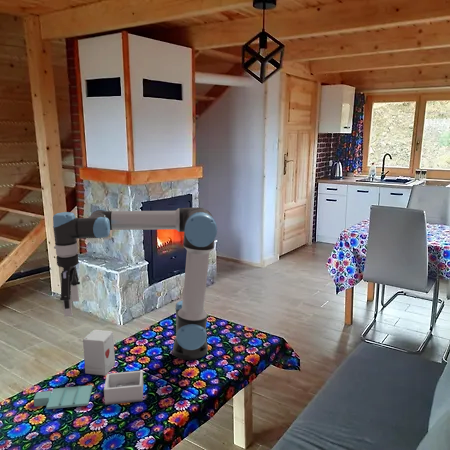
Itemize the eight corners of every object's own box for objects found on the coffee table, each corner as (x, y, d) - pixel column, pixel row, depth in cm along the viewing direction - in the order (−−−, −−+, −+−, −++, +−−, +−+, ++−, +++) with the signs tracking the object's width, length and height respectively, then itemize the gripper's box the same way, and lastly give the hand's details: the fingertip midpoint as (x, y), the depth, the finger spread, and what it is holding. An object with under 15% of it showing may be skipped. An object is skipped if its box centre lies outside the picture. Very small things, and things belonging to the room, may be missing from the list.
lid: (92, 389, 158) (92, 381, 157) (88, 407, 148) (87, 399, 147) (40, 394, 155) (39, 386, 155) (31, 413, 145) (30, 405, 144)
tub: (143, 384, 160) (142, 370, 159) (142, 401, 151) (141, 386, 150) (108, 388, 159) (107, 373, 157) (105, 404, 149) (103, 389, 148)
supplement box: (105, 376, 166) (103, 341, 163) (84, 373, 168) (81, 339, 165) (116, 364, 175) (113, 330, 172) (96, 361, 177) (93, 328, 173)
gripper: (63, 245, 167) (68, 296, 171) (47, 265, 143) (53, 323, 147) (83, 245, 168) (87, 295, 173) (71, 264, 144) (76, 321, 149)
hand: (72, 308), depth 160 cm, fingers open, 13 cm apart
